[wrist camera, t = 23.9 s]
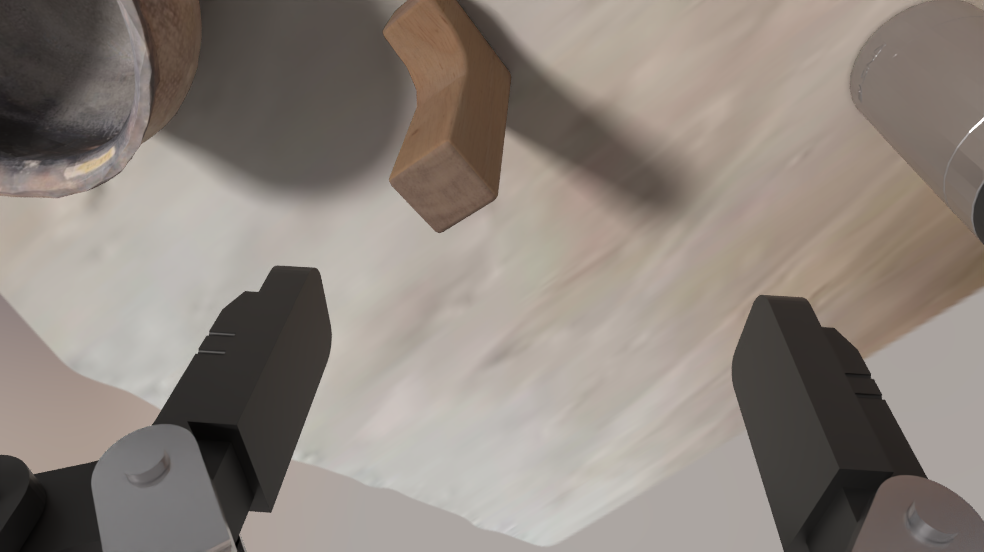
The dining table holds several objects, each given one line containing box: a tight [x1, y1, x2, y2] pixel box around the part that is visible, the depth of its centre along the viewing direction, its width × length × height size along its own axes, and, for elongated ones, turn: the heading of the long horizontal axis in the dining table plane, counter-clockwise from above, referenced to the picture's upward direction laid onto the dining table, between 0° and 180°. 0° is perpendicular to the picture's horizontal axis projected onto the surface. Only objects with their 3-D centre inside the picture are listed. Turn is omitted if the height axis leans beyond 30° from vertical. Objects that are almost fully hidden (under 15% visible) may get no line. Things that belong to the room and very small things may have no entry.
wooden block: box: [383, 0, 511, 233], centre depth 39 cm, size 9×4×18 cm, turn 37°
